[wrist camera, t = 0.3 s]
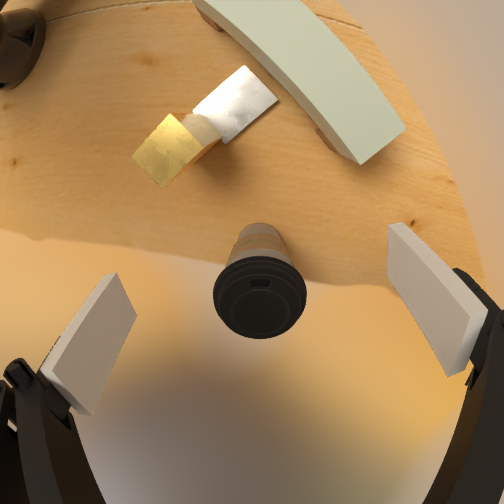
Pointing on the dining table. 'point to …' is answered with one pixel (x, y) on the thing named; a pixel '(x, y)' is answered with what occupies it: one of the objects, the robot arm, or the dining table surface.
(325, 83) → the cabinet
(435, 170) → the dining table surface
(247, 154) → the dining table surface
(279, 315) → the coffee cup
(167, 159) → the blade tool
